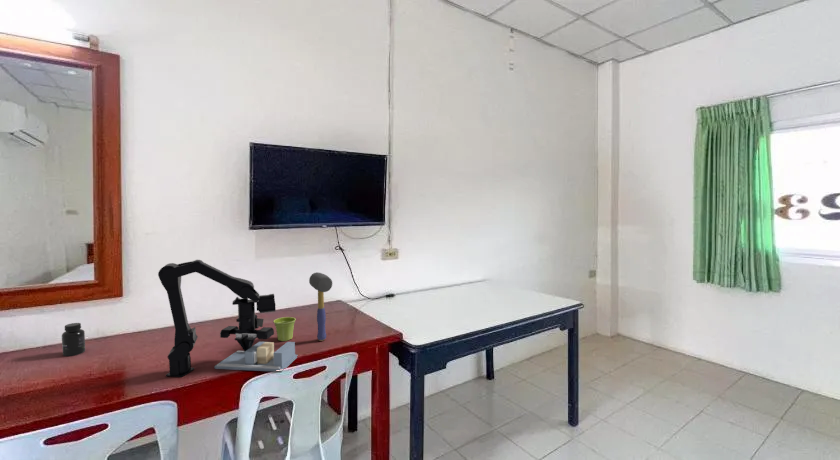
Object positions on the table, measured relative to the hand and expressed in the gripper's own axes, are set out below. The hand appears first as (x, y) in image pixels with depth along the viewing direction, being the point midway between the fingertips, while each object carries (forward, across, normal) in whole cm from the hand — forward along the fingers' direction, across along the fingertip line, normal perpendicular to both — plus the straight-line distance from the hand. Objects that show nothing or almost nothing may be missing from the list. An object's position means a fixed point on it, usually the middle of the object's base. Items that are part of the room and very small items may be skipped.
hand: (248, 354), depth 143 cm
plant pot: (+3, -3, -25) cm, 25 cm away
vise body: (+3, -4, 0) cm, 5 cm away
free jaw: (+2, -4, 0) cm, 4 cm away
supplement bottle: (+4, +75, -1) cm, 75 cm away
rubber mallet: (+3, -20, -25) cm, 32 cm away
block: (+2, -7, 0) cm, 8 cm away
